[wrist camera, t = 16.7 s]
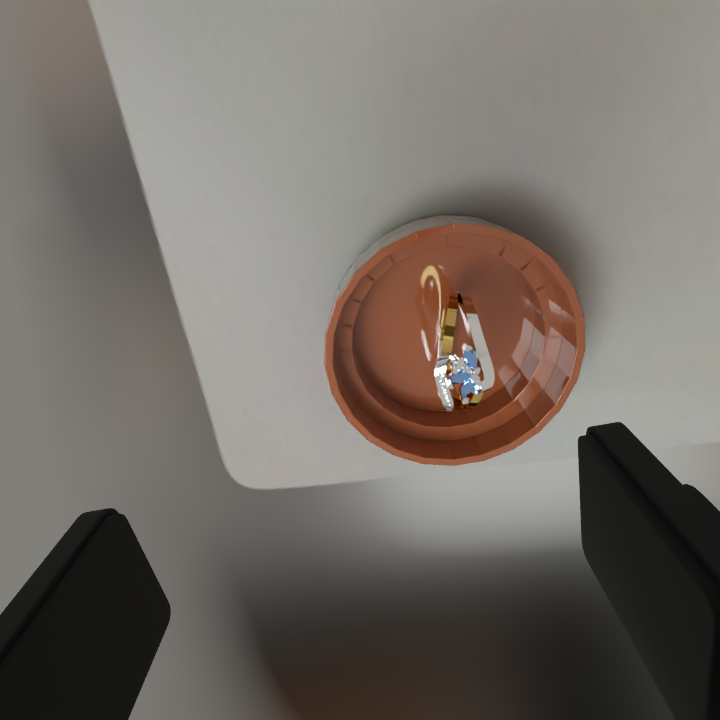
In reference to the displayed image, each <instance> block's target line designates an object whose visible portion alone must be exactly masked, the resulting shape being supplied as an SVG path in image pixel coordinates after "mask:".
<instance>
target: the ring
mask: <svg viewBox="0 0 720 720" xmlns="http://www.w3.org/2000/svg"><path fill="white" fill-rule="evenodd" d="M459 307H460V310H461V314H462V317H463V321H464V324H465V327H466V331H467V334H468V337H469V340H470V343H471V346H469V345H468V344H466V343H463V346H462V349H463V352H462V355H461V354H459V353H457V354H455V353H453V339H454V330H455V323H456V315H457V311H458V309H459ZM438 337H439V339H438V351H437V362H436V365H435V381H436V385H437V388H438V396H439V401H440V405H441V408H442V410H443V411H454V409H456V410H461V411H469V410H471V409H473V408H474V407H475V406H476V405H477V404H478V402H479V401H480V399H481V397H482V395H483V393H484V392H485V391H488V390H490V389H491V388H492V386H493V384H494V379H495V374H494V368H493V364H492V361H491V358H490V355H489V352H488V349H487V345H486V342H485V339H484V336H483V332H482V329H481V326H480V322H479V319H478V316H477V313H476V310H475V307H474V304H473V302H472V299H471V297H470V296H469V295H468V294H467V293H460V292H448V294H447V297H446V301H445V305H444V310H443V315H442V320H441V325H440V326H439V331H438ZM462 356H463V357H462ZM451 362H452V364H451ZM477 365H478V366H477ZM469 366H470V367H469ZM451 371H452V372H451ZM479 372H480V378H479V376H478V374H479ZM454 384H460V388H458V392H459V393H458V392H457V390H456V388H455V386H454Z"/></svg>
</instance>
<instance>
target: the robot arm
mask: <svg viewBox="0 0 720 720" xmlns="http://www.w3.org/2000/svg"><path fill="white" fill-rule="evenodd" d="M578 458H579V484H580V510H581V532H582V533H581V535H582V546H583V550H584V554H585V556H586V559H587V561H588V563H589V565H590V567H591V568H592V570H593V572H594V574H595V576H596V578H597V579H598V581H599V583H600V584H601V587H602V588H603V590H604V592H605V593H606V595H607V597H608V599H609V601H610V603H611V605H612V606H613V608H614V610H615V612H616V614H617V616H618V617H619V619H620V621H621V623H622V625H623V626H624V628H625V630H626V632H627V634H628V635H629V637H630V639H631V641H632V643H633V644H634V646H635V648H636V650H637V652H638V654H639V655H640V657H641V659H642V661H643V663H644V664H645V666H646V668H647V670H648V672H649V673H650V675H651V677H652V679H653V681H654V682H655V684H656V686H657V688H658V690H659V691H660V693H661V695H662V697H663V699H664V700H665V702H666V704H667V706H668V708H669V709H670V711H671V713H672V715H673V717H674V719H675V720H720V511H719V510H717V508H716V507H715V506H713V504H712V503H711V502H710V501H708V499H707V498H706V497H705V496H704V495H703V494H701V493H700V492H699V491H698V490H697V489H696V488H694V487H693V486H690V485H688V484H684V485H682V484H681V483H680V482H679V481H678V480H677V479H676V478H675V477H674V476H673V475H672V474H671V473H670V472H669V470H668V469H667V468H666V467H664V465H663V464H662V463H661V462H660V461H659V460H658V459H657V458H656V457H655V456H654V455H653V454H652V453H651V452H650V451H649V450H648V449H647V448H646V447H645V446H644V445H643V444H642V443H641V442H640V441H639V440H638V439H637V438H636V437H635V435H634V434H633V433H632V432H631V431H630V430H629V429H628V428H627V427H626V426H625V425H624V424H622V423H621V422H615V423H610V424H604V425H598V426H592V427H589V428H588V429H587V432H586V435H585V436H580V437H579V439H578ZM170 614H171V613H170V604H169V602H168V600H167V598H166V596H165V594H164V592H163V590H162V588H161V586H160V584H159V582H158V580H157V578H156V576H155V574H154V572H153V570H152V568H151V566H150V564H149V562H148V560H147V558H146V556H145V554H144V552H143V550H142V549H141V546H140V544H139V542H138V540H137V538H136V536H135V534H134V532H133V530H132V528H131V526H130V524H129V522H128V520H127V518H126V517H125V516H124V515H123V514H119V513H118V512H117V511H116V510H115V509H112V508H108V509H102V510H96V511H91V512H86V513H83V514H81V515H80V516H79V517H78V518H77V520H76V521H75V522H74V523H73V524H72V526H71V527H70V528H69V530H68V531H67V532H66V533H65V534H64V536H63V537H62V538H61V540H60V541H59V542H58V543H57V545H56V546H55V547H54V548H53V550H52V551H51V552H50V553H49V555H48V556H47V557H46V558H45V559H44V561H43V562H42V563H41V565H40V566H39V567H38V568H37V570H36V571H35V572H34V573H33V575H32V576H31V577H30V578H29V580H28V581H27V582H26V583H25V585H24V586H23V587H22V588H21V590H20V591H19V592H18V593H17V595H16V596H15V597H14V598H13V600H12V601H11V602H10V603H9V605H8V606H7V607H6V608H5V610H4V611H3V612H2V613H1V615H0V720H128V718H129V716H130V714H131V711H132V709H133V707H134V704H135V702H136V699H137V697H138V695H139V692H140V690H141V687H142V685H143V683H144V681H145V678H146V676H147V673H148V671H149V669H150V666H151V664H152V661H153V659H154V656H155V654H156V652H157V650H158V647H159V645H160V642H161V640H162V638H163V635H164V633H165V631H166V628H167V626H168V623H169V620H170Z"/></svg>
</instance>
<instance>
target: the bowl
mask: <svg viewBox="0 0 720 720" xmlns="http://www.w3.org/2000/svg"><path fill="white" fill-rule="evenodd" d="M448 292H460V293H467V294H468V295H469V296H470V297H471V299H472V302H473V304H474V307H475V310H476V313H477V316H478V319H479V322H480V326H481V329H482V332H483V336H484V339H485V342H486V345H487V349H488V352H489V355H490V358H491V361H492V364H493V368H494V374H495V379H494V384H493V386H492V388H491V389H490V390H488V391H485V392H484V393H483V395H482V397H481V399H480V401H479V402H478V404H477V405H476V406H475V407H474V408H473V409H471V410H469V411H461V410H456V409H454V411H443V410H442V408H441V405H440V401H439V396H438V388H437V385H436V381H435V365H436V362H437V351H438V339H439V337H438V331H439V326H440V325H441V320H442V315H443V310H444V305H445V301H446V297H447V294H448ZM463 343H466V344H468V345H469V346H471V343H470V340H469V337H468V334H467V331H466V327H465V324H464V321H463V317H462V314H461V310H460V307H459V309H458V311H457V315H456V323H455V330H454V339H453V353H455V354H457V353H459V354H461V355H462V352H463V349H462V346H463ZM584 352H585V324H584V314H583V311H582V308H581V306H580V303H579V300H578V297H577V294H576V291H575V288H574V286H573V284H572V283H571V281H570V280H569V279H568V277H567V276H566V275H565V273H564V272H563V271H562V269H561V268H560V266H559V265H558V264H557V262H556V261H555V260H554V259H553V258H552V257H551V256H550V255H548V254H547V253H545V252H544V251H543V250H541V249H540V248H539V247H537V246H536V245H534V244H533V243H532V242H530V241H529V240H528V239H526V238H524V237H522V236H520V235H518V234H516V233H514V232H512V231H510V230H508V229H506V228H504V227H502V226H499V225H496V224H493V223H490V222H487V221H485V220H482V219H479V218H476V217H468V216H450V215H439V216H434V217H430V218H425V219H420V220H416V221H411V222H410V223H406V224H404V225H402V226H400V227H398V228H396V229H395V230H393V231H391V232H389V233H387V234H385V235H383V236H381V237H380V238H378V239H377V240H376V241H375V242H374V243H373V244H372V245H371V246H369V247H368V248H367V249H366V250H365V251H364V252H363V253H362V254H361V255H359V256H358V257H357V259H356V260H355V261H354V263H353V264H352V266H351V268H350V269H349V271H348V272H347V274H346V275H345V277H344V278H343V280H342V281H341V283H340V285H339V288H338V291H337V295H336V298H335V301H334V304H333V307H332V310H331V314H330V318H329V322H328V325H327V329H326V334H325V363H324V364H325V369H326V373H327V377H328V381H329V385H330V388H331V392H332V395H333V397H334V399H335V400H336V402H337V404H338V405H339V407H340V409H341V410H342V412H343V414H344V416H345V417H346V419H347V420H348V421H349V422H350V423H351V424H352V425H353V426H354V427H355V428H356V429H357V430H358V431H359V432H360V433H361V434H362V435H363V436H364V437H365V438H366V439H367V440H369V441H370V442H371V443H373V444H375V445H377V446H378V447H380V448H382V449H384V450H385V451H387V452H389V453H391V454H392V455H395V456H398V457H401V458H404V459H408V460H411V461H415V462H418V463H422V464H433V465H451V466H453V465H461V464H467V463H473V462H479V461H484V460H487V459H490V458H492V457H495V456H498V455H500V454H503V453H505V452H508V451H510V450H513V448H514V449H515V448H516V447H518V446H519V445H521V444H522V443H524V442H525V441H527V440H528V439H529V438H531V437H532V436H534V435H535V434H537V433H538V432H540V431H541V430H542V429H543V428H544V427H545V426H546V425H547V423H548V422H549V421H550V420H551V419H552V418H553V417H554V416H555V415H556V414H557V413H558V412H559V411H560V409H561V407H563V405H564V403H565V402H566V400H567V398H568V396H569V394H570V393H571V391H572V389H573V387H574V385H575V384H576V382H577V379H578V376H579V372H580V368H581V364H582V360H583V356H584ZM462 357H463V356H462ZM451 364H452V362H451ZM477 366H478V365H477ZM469 367H470V366H469ZM451 372H452V371H451ZM478 376H479V378H480V372H479V374H478ZM454 386H455V388H456V390H457V392H458V388H460V384H454ZM458 393H459V392H458Z"/></svg>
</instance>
